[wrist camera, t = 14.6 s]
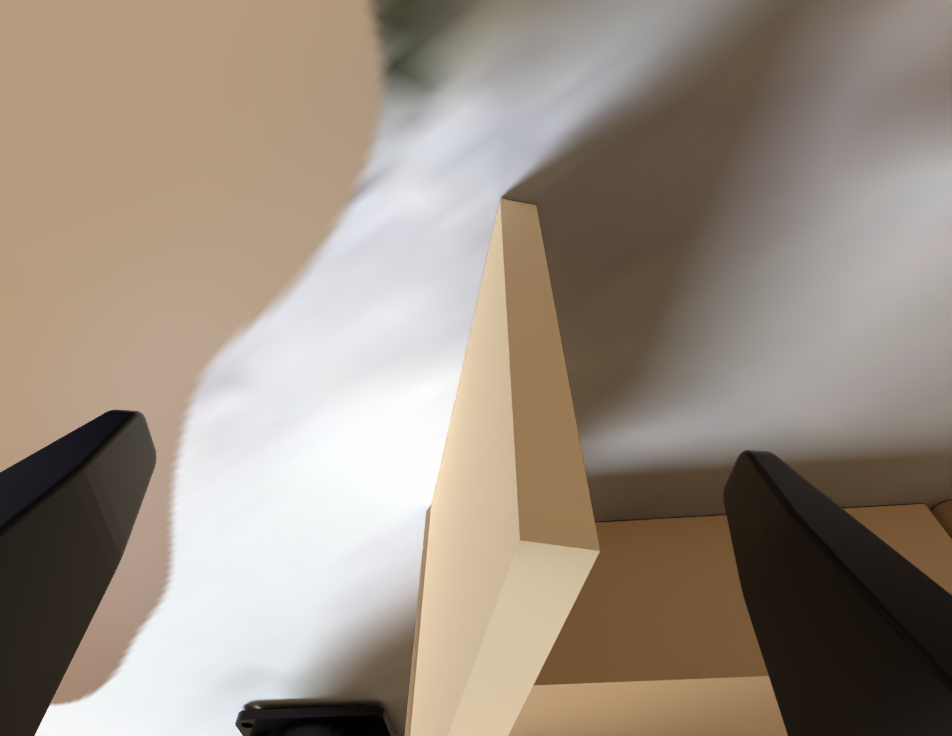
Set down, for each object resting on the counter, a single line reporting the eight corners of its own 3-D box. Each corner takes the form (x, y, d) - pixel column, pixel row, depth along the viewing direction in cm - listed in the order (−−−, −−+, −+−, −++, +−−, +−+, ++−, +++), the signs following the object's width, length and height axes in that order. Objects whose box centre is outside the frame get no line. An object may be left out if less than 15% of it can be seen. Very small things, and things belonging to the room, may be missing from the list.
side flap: (455, 527, 20) (437, 887, 12) (423, 522, 19) (388, 883, 12) (540, 206, 13) (609, 552, 6) (495, 197, 13) (509, 539, 6)
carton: (469, 687, 25) (466, 838, 21) (436, 531, 20) (423, 697, 15) (842, 672, 24) (916, 828, 20) (924, 504, 19) (1053, 673, 14)
